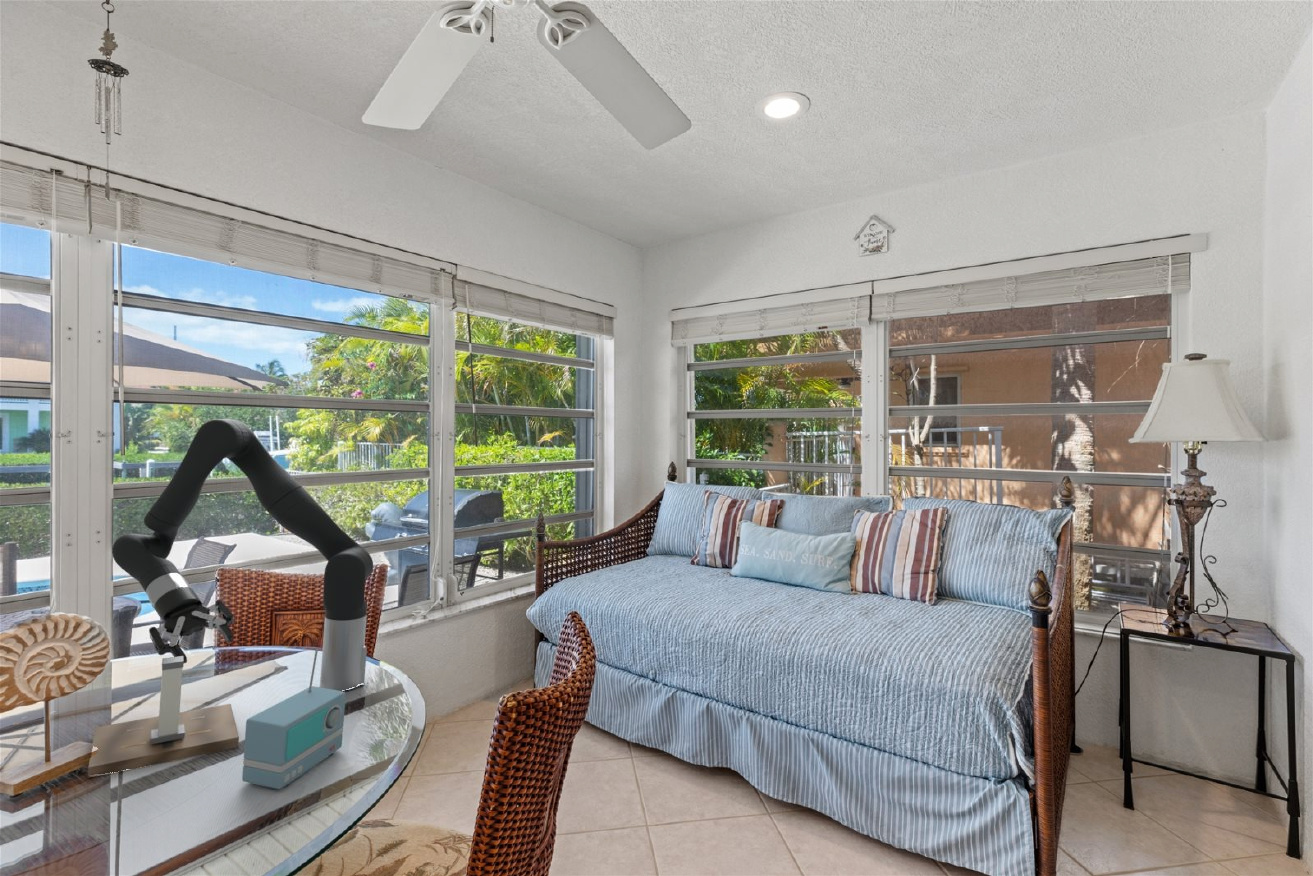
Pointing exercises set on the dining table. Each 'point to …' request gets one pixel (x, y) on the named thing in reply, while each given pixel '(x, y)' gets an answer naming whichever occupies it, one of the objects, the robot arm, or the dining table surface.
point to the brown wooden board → (134, 748)
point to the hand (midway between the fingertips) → (208, 650)
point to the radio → (293, 736)
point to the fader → (169, 702)
